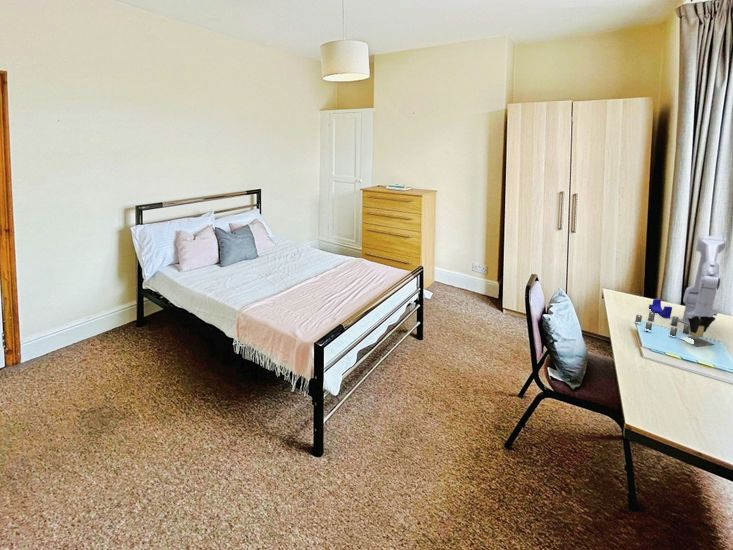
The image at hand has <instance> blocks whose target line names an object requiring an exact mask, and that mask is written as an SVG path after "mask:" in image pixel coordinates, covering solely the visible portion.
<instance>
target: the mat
mask: <svg viewBox="0 0 733 550" xmlns="http://www.w3.org/2000/svg"><path fill="white" fill-rule="evenodd" d="M686 336H687V335H686ZM687 337H688V338H691V339H693V340H694V344H693V345H692V346H694V345H695V346H694V347H696V346H701V347H707V346H706V345H709V346H714V343H713V342H710V341H707V339H706V340H705V339H702V337H694V336H692V335H689V336H687Z"/></svg>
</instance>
